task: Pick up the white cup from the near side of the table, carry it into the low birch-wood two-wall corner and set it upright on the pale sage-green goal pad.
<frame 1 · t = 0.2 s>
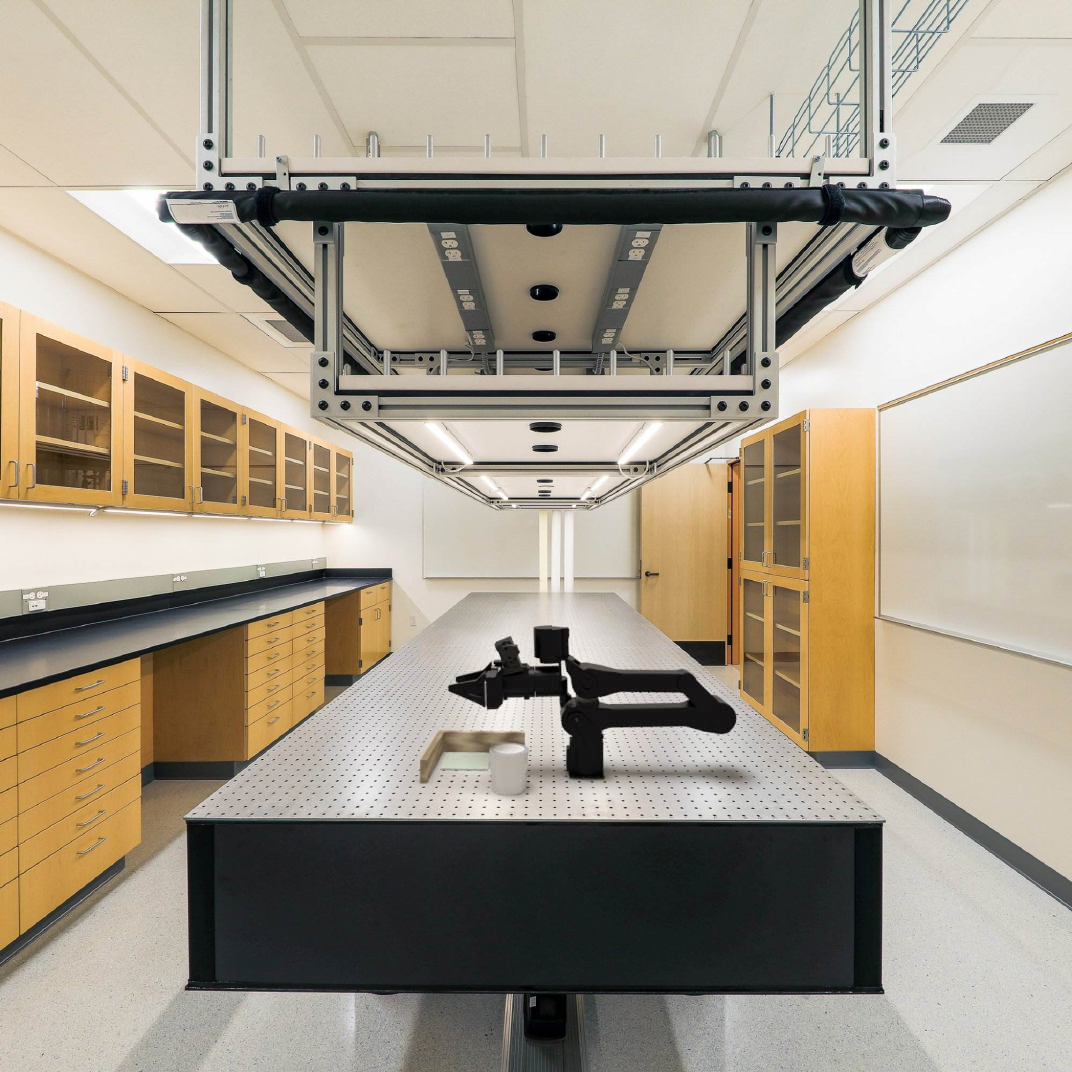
hand: (452, 683, 112), 16 cm above the table, tool horizontal, fingers open, 9 cm apart
goal pad: (467, 761, 117), on the table
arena: (467, 761, 117), on the table
white cup: (508, 790, 104), on the table
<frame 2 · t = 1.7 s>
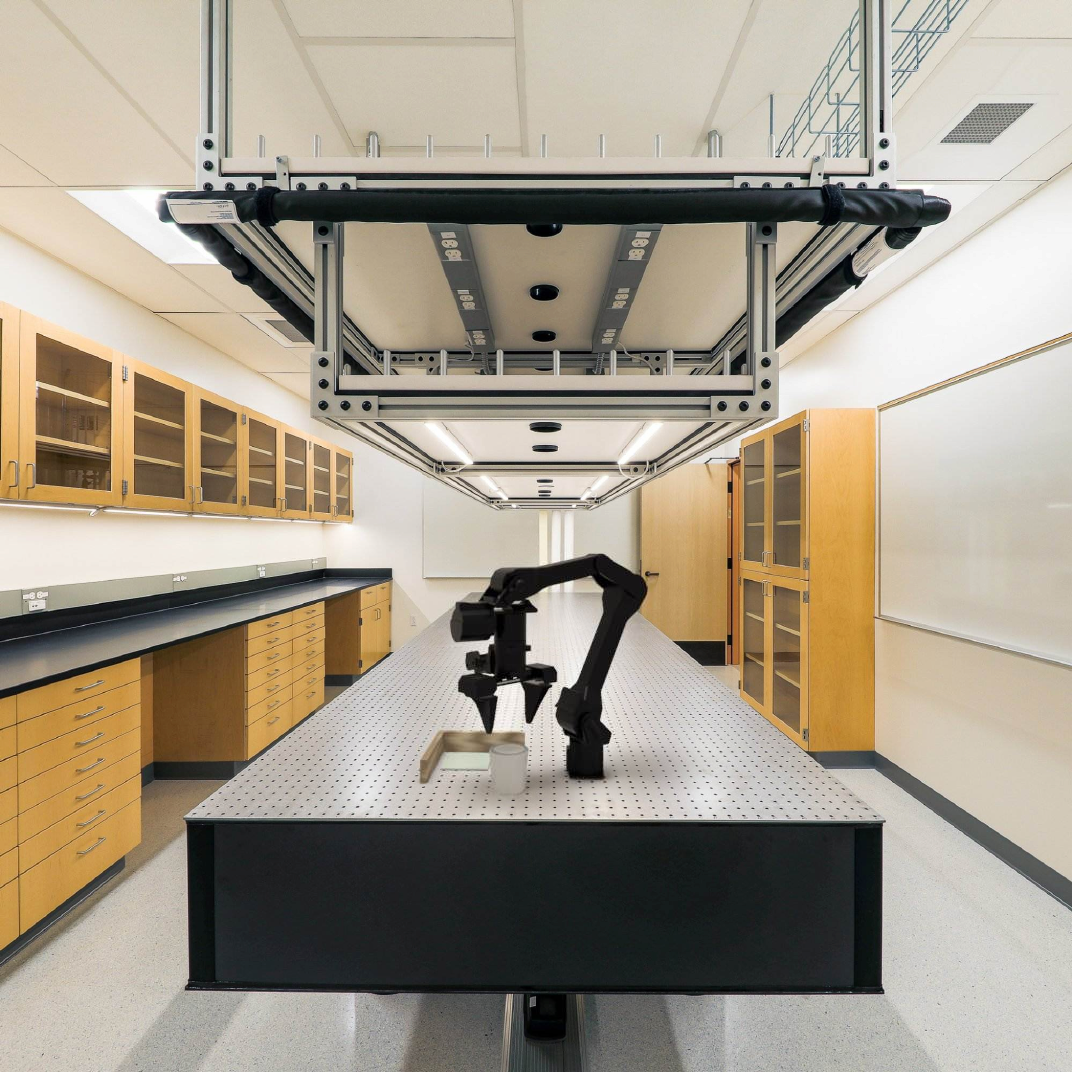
hand: (509, 728, 104), 10 cm above the table, tool pointing down, fingers open, 9 cm apart
nothing on the table moved.
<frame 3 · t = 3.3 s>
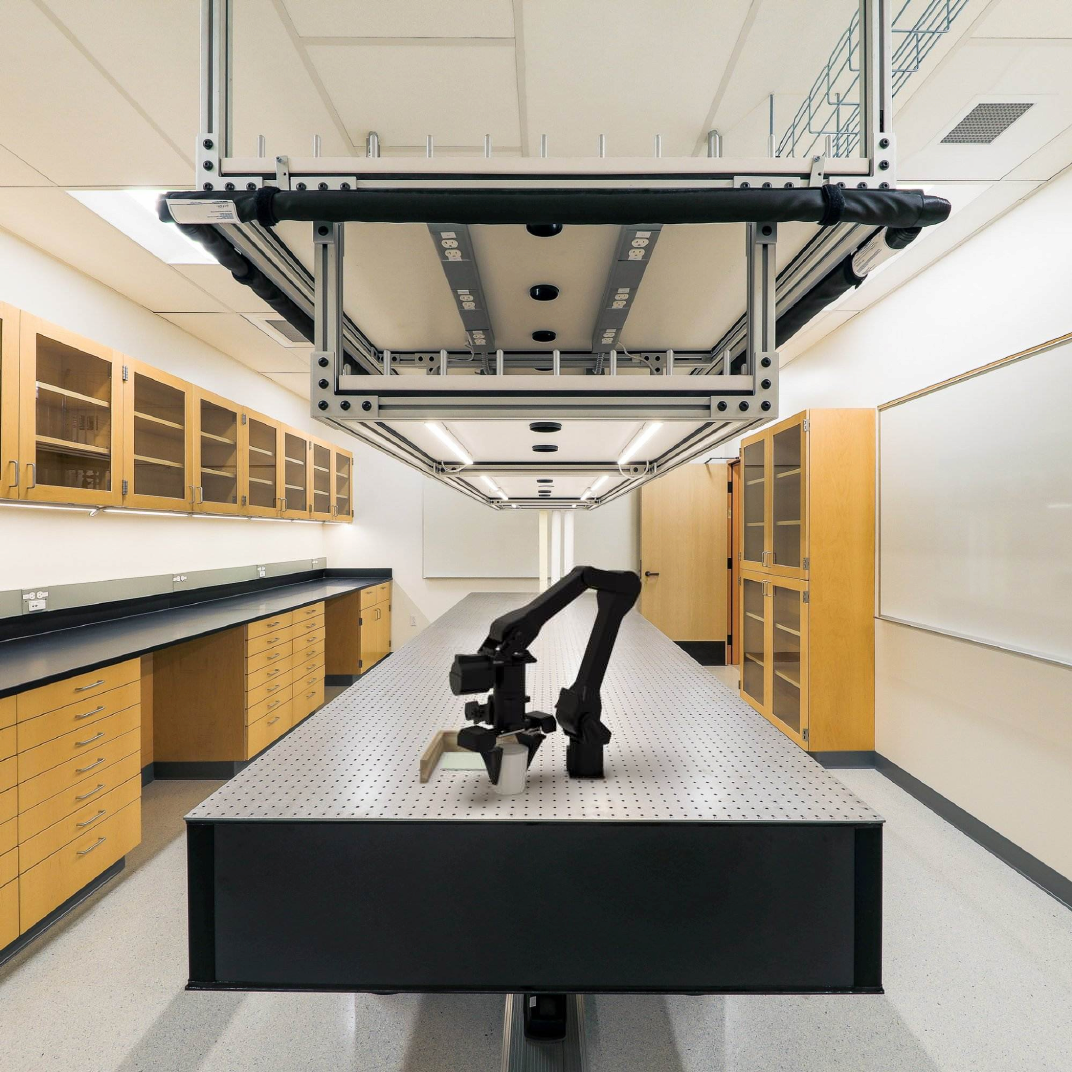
hand: (508, 779, 104), 2 cm above the table, tool pointing down, fingers closed on white cup, 6 cm apart
white cup: (508, 789, 104), on the table, touching gripper
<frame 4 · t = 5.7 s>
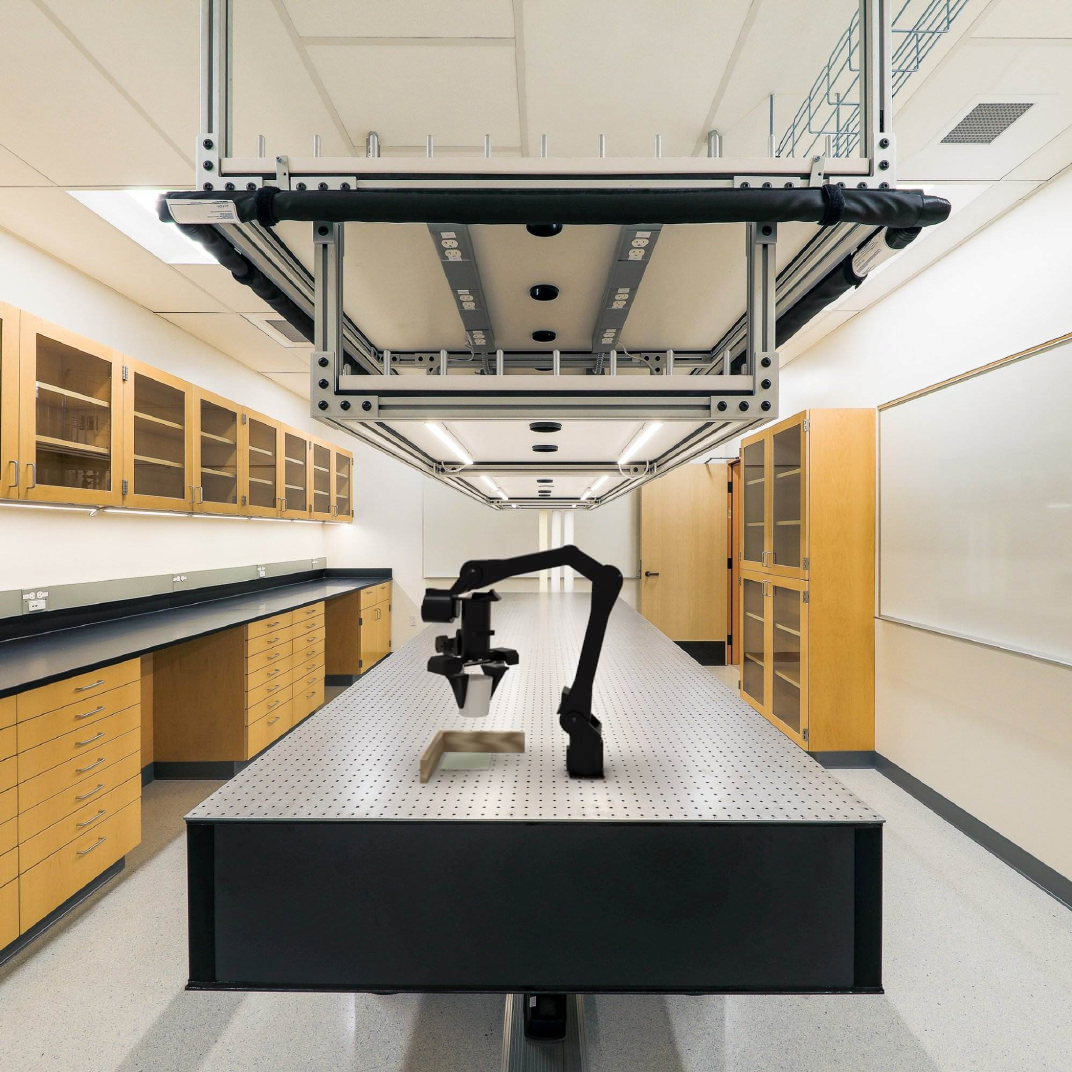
hand: (474, 705, 114), 12 cm above the table, tool pointing down, fingers closed on white cup, 6 cm apart
white cup: (474, 714, 114), point 10 cm above the table, touching gripper
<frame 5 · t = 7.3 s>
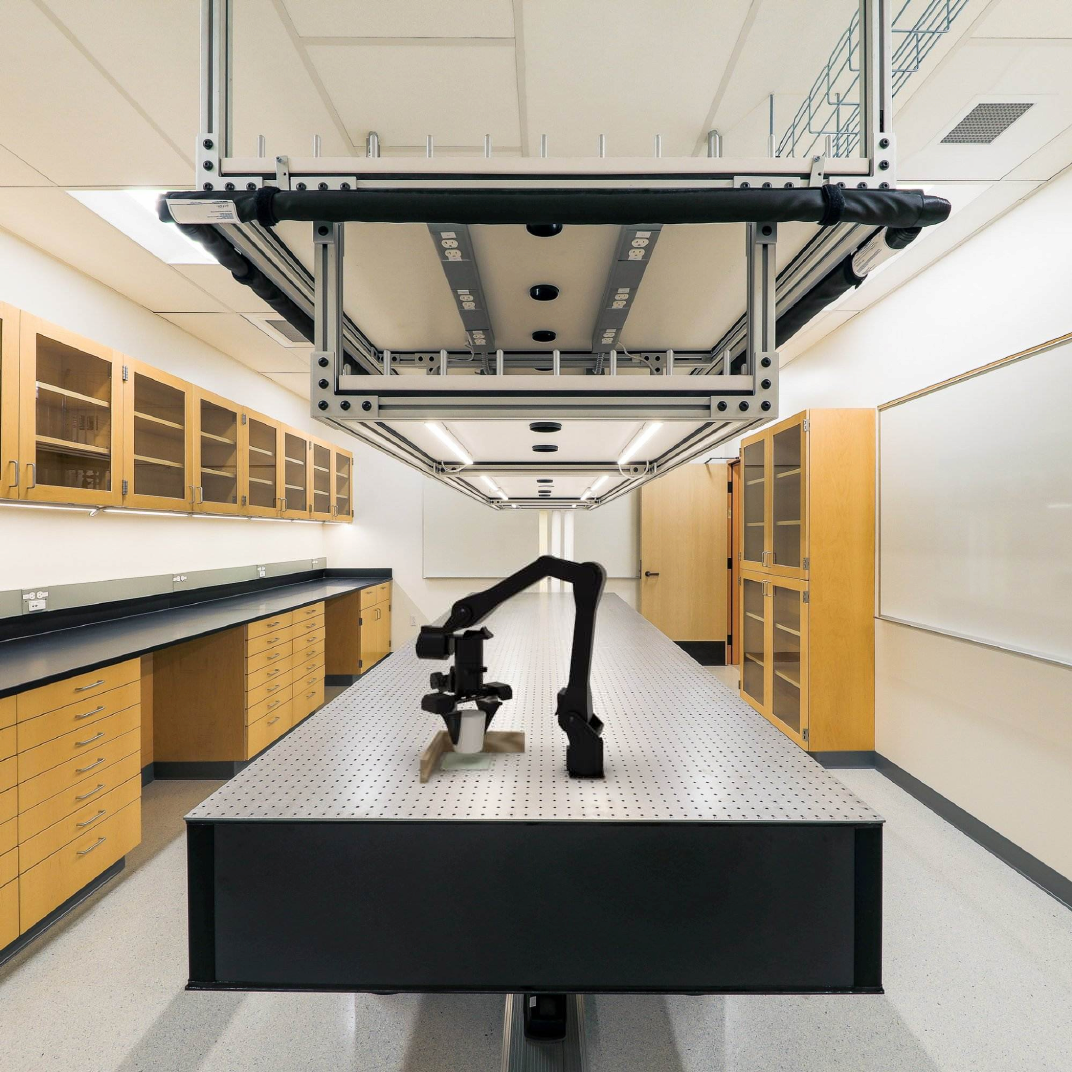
hand: (468, 741, 117), 4 cm above the table, tool pointing down, fingers closed on white cup, 6 cm apart
white cup: (468, 749, 117), point 2 cm above the table, touching gripper
when the fingers open (3 cm above the table, at t = 8.4 s): white cup drops 1 cm, resting on goal pad.
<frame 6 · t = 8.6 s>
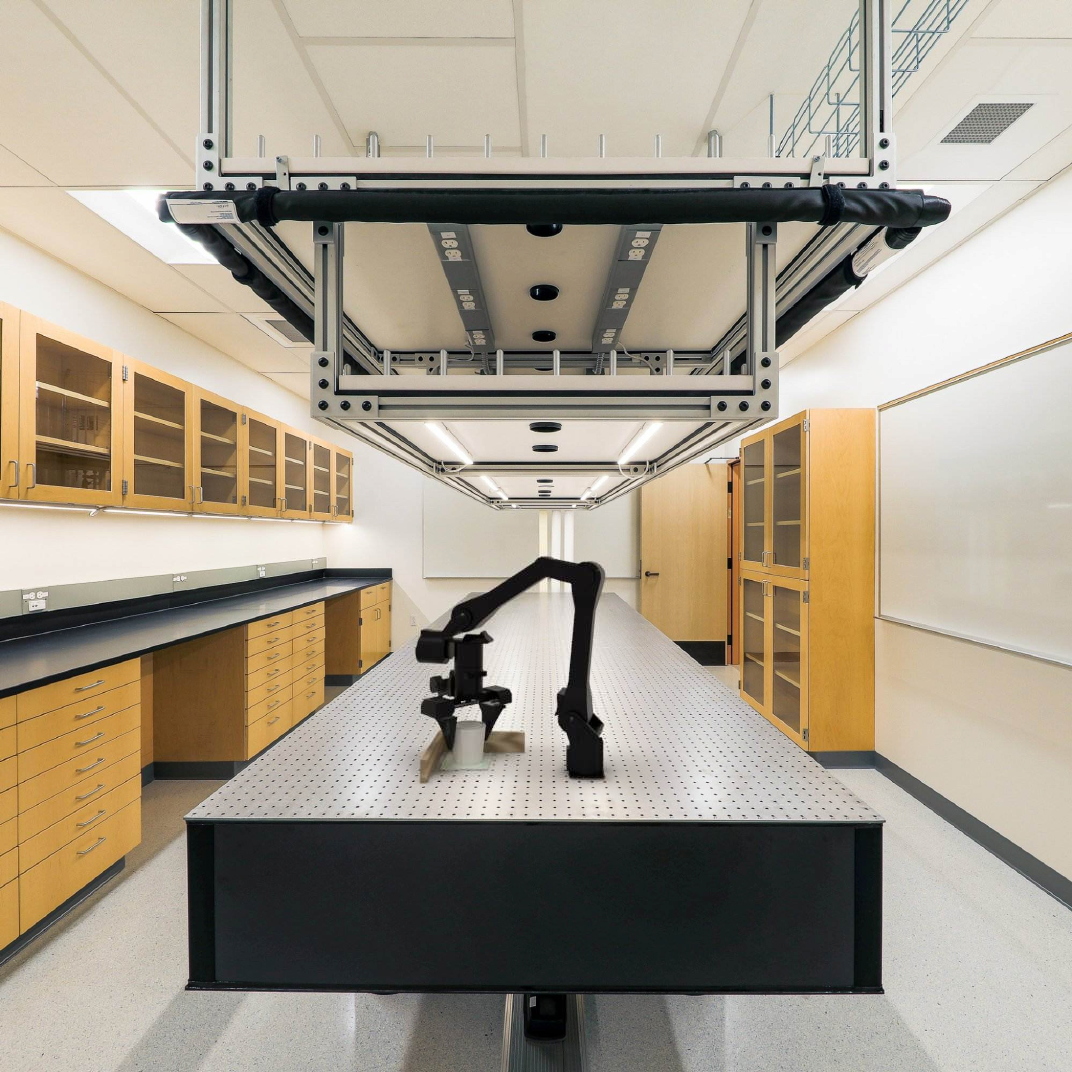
hand: (467, 745, 117), 3 cm above the table, tool pointing down, fingers open, 8 cm apart
white cup: (467, 761, 117), resting on goal pad
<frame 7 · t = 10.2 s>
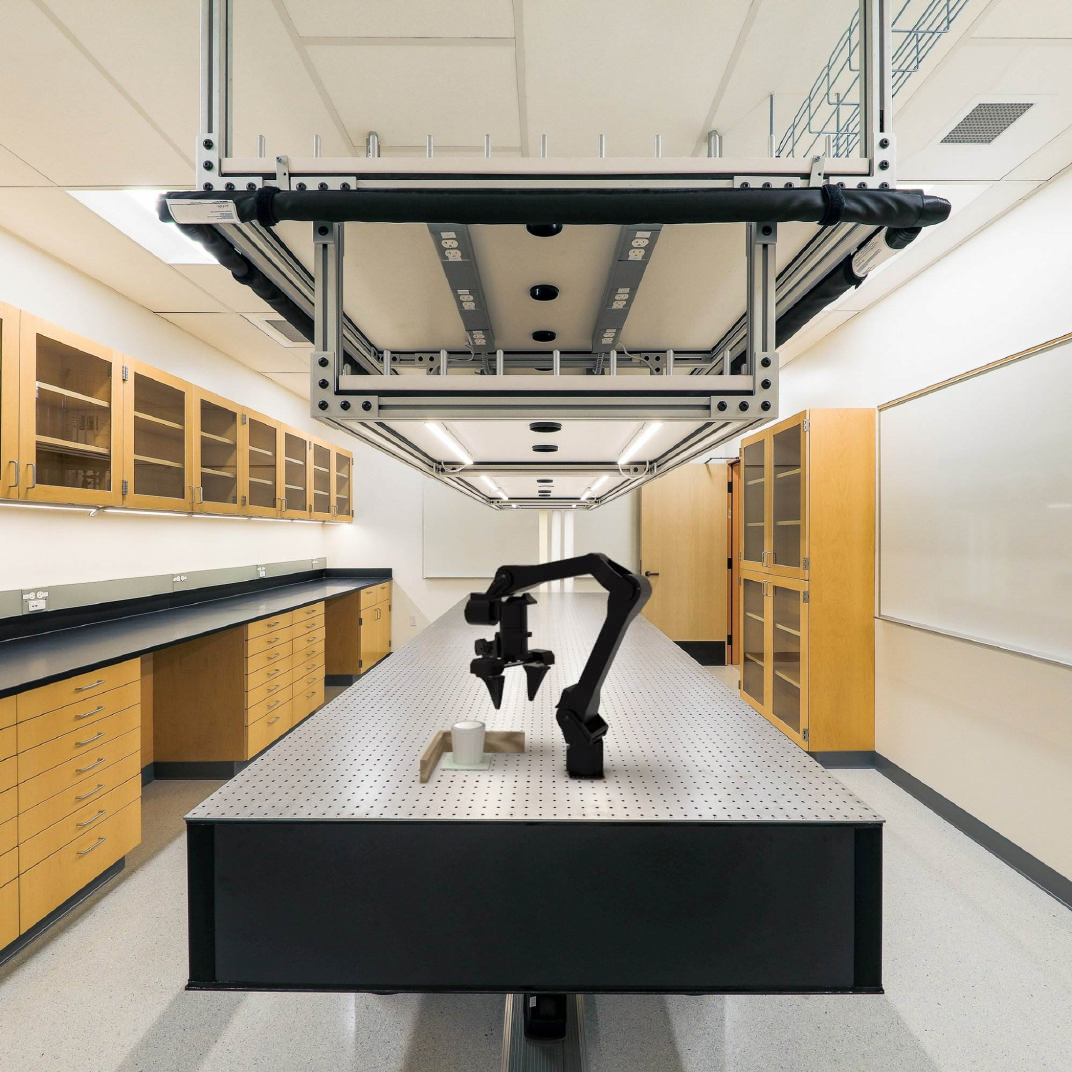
hand: (514, 705, 119), 11 cm above the table, tool pointing down, fingers open, 9 cm apart
nothing on the table moved.
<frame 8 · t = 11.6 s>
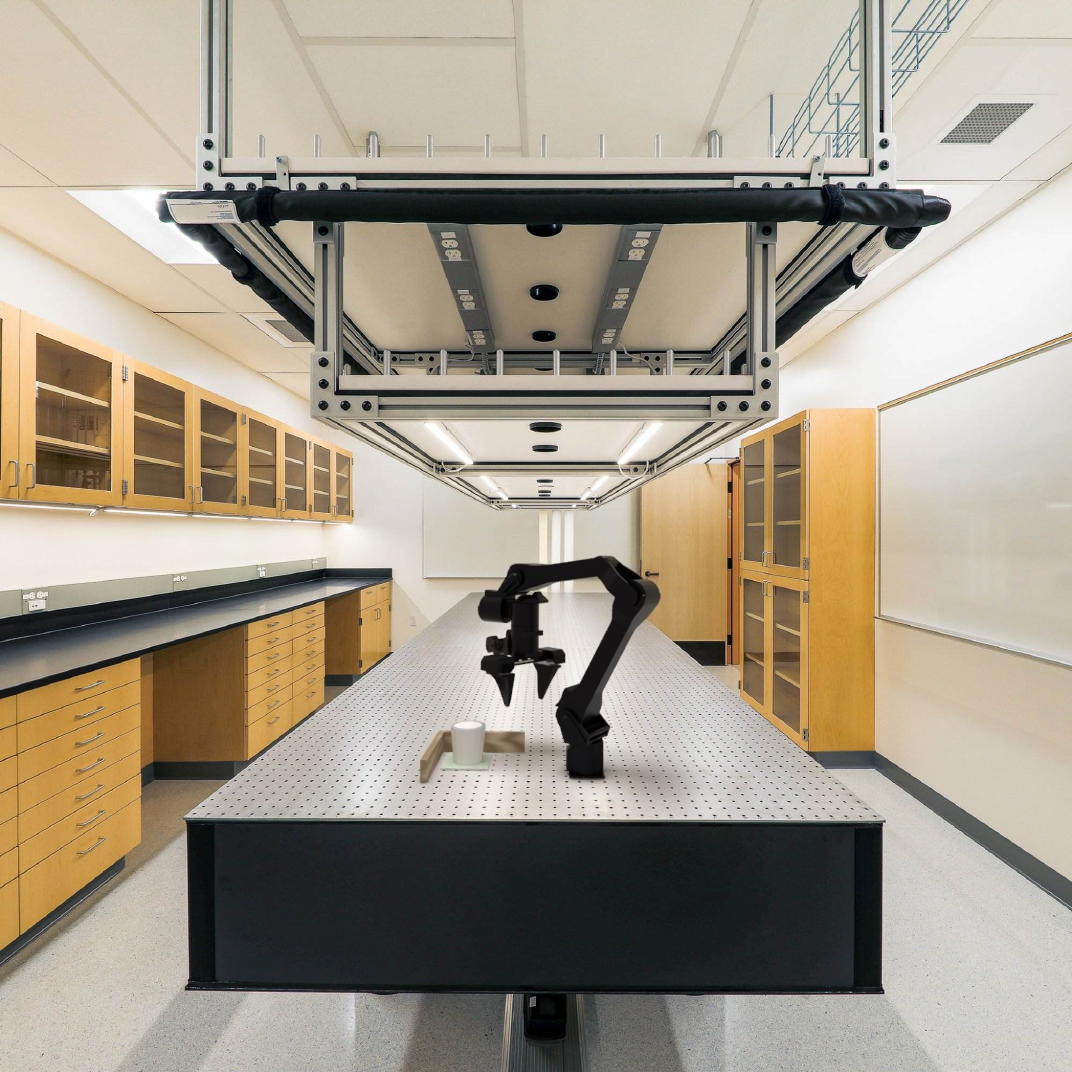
hand: (524, 702, 120), 11 cm above the table, tool pointing down, fingers open, 9 cm apart
nothing on the table moved.
at the end: white cup 0.1 cm off-centre on the goal pad, point 0.1 cm above the goal pad's base; white cup tilted 0°; the gripper is holding nothing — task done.
